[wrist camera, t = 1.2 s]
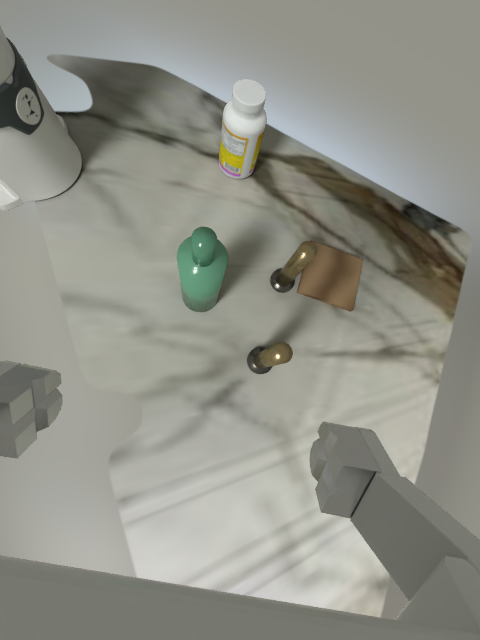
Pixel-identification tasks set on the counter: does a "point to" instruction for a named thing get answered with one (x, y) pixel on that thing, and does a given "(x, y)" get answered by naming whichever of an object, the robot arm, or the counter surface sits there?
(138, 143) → the counter surface
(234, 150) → the supplement bottle
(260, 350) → the post
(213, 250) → the bottle
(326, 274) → the plate
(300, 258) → the post
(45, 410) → the robot arm
